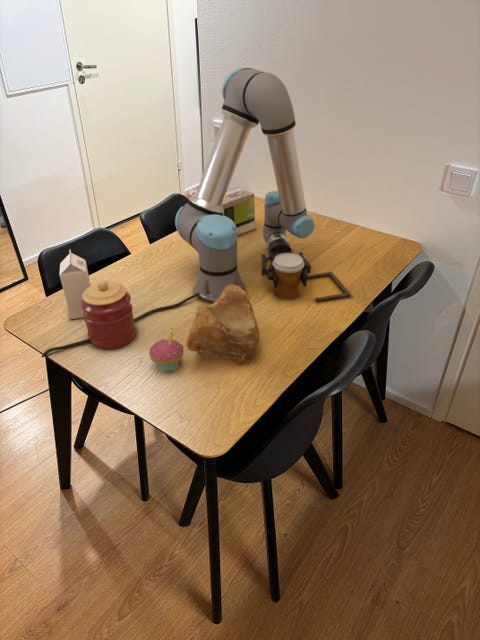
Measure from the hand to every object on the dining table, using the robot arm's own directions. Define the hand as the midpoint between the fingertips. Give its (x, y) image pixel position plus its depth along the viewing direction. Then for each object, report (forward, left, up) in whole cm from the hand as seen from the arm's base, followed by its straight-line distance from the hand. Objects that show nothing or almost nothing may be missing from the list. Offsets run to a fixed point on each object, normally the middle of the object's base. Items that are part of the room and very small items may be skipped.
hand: (290, 283), depth 147 cm
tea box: (-4, +54, -7) cm, 55 cm away
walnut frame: (+13, +5, -7) cm, 15 cm away
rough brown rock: (-23, -18, -7) cm, 30 cm away
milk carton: (-61, +12, -7) cm, 63 cm away
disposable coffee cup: (+1, +5, -7) cm, 8 cm away
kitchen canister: (-53, -3, -7) cm, 54 cm away
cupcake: (-40, -20, -7) cm, 45 cm away
